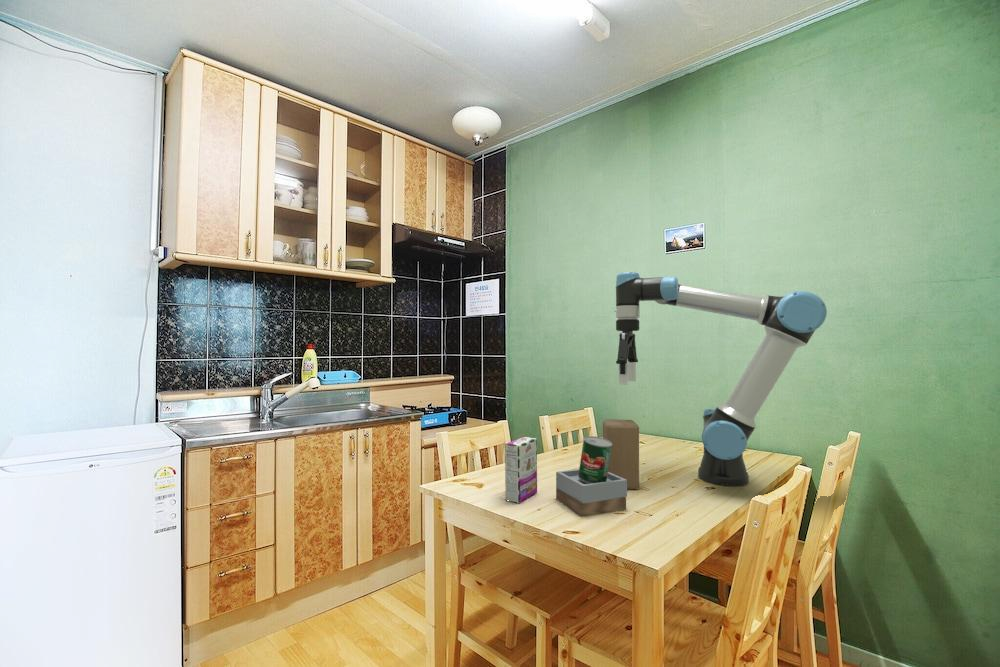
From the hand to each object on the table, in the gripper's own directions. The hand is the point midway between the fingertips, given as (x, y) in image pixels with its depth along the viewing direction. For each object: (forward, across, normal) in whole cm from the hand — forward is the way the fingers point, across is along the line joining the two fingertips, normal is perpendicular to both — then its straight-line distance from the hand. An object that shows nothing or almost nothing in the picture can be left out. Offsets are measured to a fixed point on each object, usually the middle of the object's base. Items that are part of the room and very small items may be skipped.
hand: (627, 382), depth 152 cm
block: (+32, +8, -1) cm, 33 cm away
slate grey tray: (+28, +29, -4) cm, 41 cm away
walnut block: (+32, +29, -4) cm, 44 cm away
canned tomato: (+25, +29, -4) cm, 38 cm away
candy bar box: (+32, +32, -24) cm, 51 cm away
